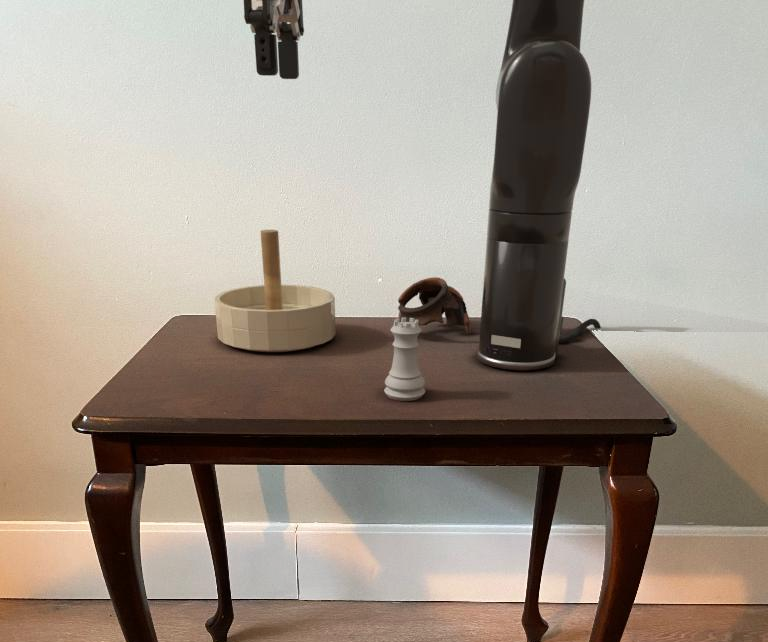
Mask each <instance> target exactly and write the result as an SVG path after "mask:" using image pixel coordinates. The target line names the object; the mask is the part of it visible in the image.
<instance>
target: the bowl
mask: <svg viewBox="0 0 768 642" xmlns="http://www.w3.org/2000/svg"><path fill="white" fill-rule="evenodd" d="M281 287H282V304H283V308H285V309H283V310H262V309H266V304H265V289H264V284H258V285H249V286H243V287H237V288H232V289H228V290H226V291H222V292H220V293H218V294H217V295H215V296H214V301H213V302H214V312H215V322H216V329H217V331H216V332H217V338H218V340H219V341H220V342H222V343H223V344H225V345H228V346H230V347H233V348H237V349H242V350H244V351H245V350H246V351H250V352H260V353H261V352H262V353H285V352H295V351H300V350H301V351H302V350H306V349H310V348H313V347H316V346H320V345H323V344H325V343H327V342H329V341H331V340H333V338H334V337H335V336H336V333H337V331H336V298H335V295H334V293H333V292H331V291H329V290H327V289H324V288H321V287H315V286H311V285H310V286H309V285H301V284H283V283H281Z"/></svg>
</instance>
